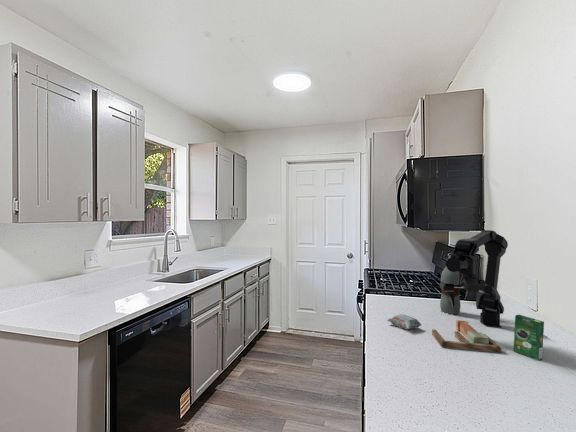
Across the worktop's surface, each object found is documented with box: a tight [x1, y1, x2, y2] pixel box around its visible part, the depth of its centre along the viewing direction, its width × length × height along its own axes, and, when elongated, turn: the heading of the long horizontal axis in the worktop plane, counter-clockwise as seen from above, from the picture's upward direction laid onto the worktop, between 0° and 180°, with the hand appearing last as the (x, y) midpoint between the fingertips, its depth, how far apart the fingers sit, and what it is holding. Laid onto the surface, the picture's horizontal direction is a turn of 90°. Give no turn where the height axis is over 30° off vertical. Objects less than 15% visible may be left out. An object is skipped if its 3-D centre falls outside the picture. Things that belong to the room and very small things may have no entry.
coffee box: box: [513, 314, 545, 361], centre depth 108 cm, size 8×3×13 cm, turn 25°
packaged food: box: [385, 313, 422, 330], centre depth 134 cm, size 9×12×5 cm
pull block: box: [455, 319, 490, 344], centre depth 123 cm, size 5×20×4 cm, turn 170°
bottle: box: [439, 252, 461, 315], centre depth 158 cm, size 9×9×30 cm
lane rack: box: [431, 329, 502, 354], centre depth 118 cm, size 20×13×2 cm, turn 80°
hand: (465, 308), depth 128 cm, fingers open, 9 cm apart
